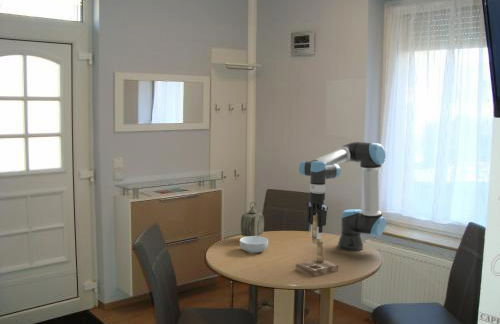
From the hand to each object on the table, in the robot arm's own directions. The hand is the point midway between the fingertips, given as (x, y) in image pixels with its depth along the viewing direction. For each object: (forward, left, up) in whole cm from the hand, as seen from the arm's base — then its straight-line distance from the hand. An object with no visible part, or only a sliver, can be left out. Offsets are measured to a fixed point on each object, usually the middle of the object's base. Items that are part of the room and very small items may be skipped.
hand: (316, 237), depth 253 cm
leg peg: (0, 0, -3) cm, 3 cm away
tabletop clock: (-8, -66, -19) cm, 69 cm away
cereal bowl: (+4, -48, -19) cm, 52 cm away
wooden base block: (-4, -3, -19) cm, 19 cm away
